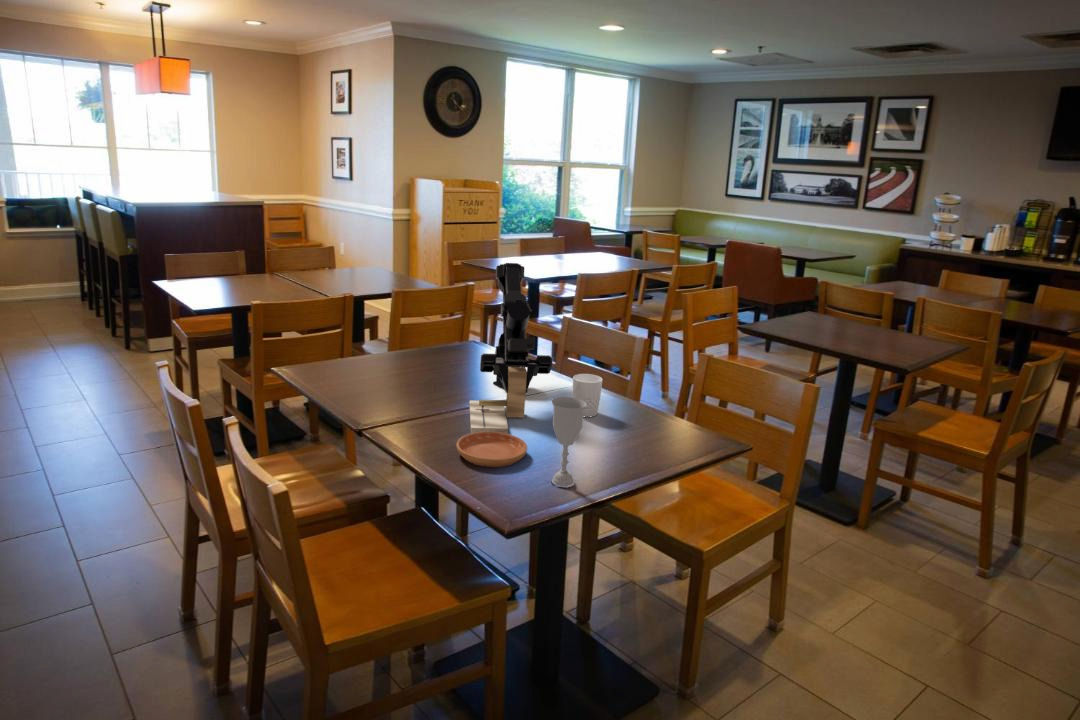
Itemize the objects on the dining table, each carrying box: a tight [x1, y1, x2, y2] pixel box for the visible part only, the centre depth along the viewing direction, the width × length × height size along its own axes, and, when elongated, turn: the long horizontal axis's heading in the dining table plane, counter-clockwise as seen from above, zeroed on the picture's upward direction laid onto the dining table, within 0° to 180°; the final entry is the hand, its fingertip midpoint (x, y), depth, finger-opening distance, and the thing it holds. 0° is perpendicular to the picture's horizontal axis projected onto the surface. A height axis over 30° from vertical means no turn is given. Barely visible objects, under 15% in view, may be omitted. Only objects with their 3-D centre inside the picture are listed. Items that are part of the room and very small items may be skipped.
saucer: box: [456, 432, 528, 468], centre depth 163 cm, size 16×16×3 cm
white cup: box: [572, 373, 603, 418], centre depth 193 cm, size 8×8×10 cm
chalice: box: [551, 396, 587, 486], centre depth 149 cm, size 7×7×18 cm
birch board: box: [468, 400, 509, 434], centre depth 185 cm, size 20×9×2 cm, turn 7°
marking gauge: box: [478, 367, 527, 418], centre depth 186 cm, size 4×12×12 cm, turn 97°
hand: (516, 392), depth 186 cm, fingers closed on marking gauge, 4 cm apart
